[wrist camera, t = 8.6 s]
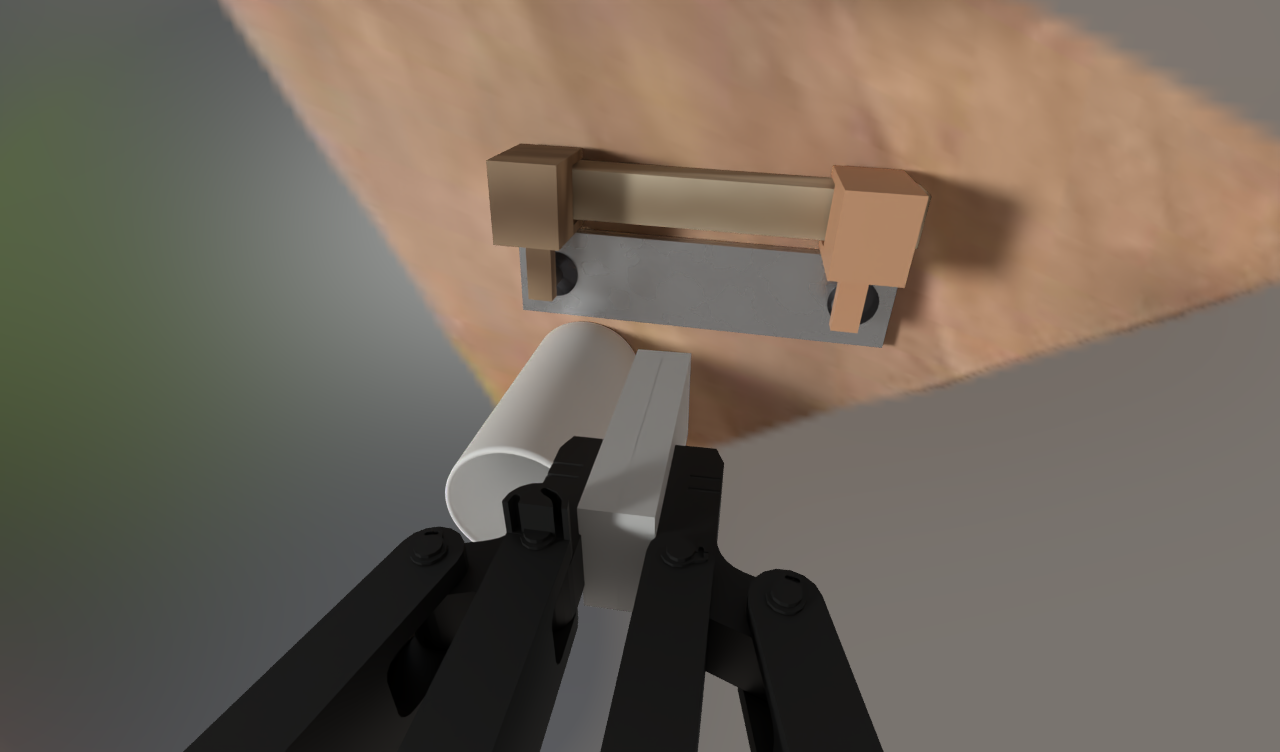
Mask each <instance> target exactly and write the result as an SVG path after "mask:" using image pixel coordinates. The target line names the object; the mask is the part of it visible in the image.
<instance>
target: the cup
mask: <svg viewBox="0 0 1280 752" xmlns="http://www.w3.org/2000/svg"><path fill="white" fill-rule="evenodd" d="M635 356H636V355H635V353H634V351H633V349H632V348H631V346H630V345H629V344H628V343H627V342H626V341H625V340H624V339H623V338H622V337H621V336H620V335H619V334H617V333H616V332H615V331H613V330H611V329H609V328H607V327H605V326H602V325H600V324H596V323H592V322H571V323H567V324H564V325H561V326H559V327H557V328H555V329H554V330H552V331H551V332H550V333H549V334H548V335H547V336H546V337H545V338H544V339H543V341H542V342H541V344H540V345H539V346H538V348H537V349H536V351H535V352H534V353H533V355H532V356H531V358H530V359H529V361H528V362H527V363H526V365H525V366H524V368H523V369H522V371H521V372H520V373H519V375H518V376H517V378H516V379H515V380H514V382H513V383H512V385H511V386H510V388H509V389H508V390H507V392H506V393H505V395H504V396H503V397H502V399H501V400H500V402H499V403H498V405H497V406H496V407H495V409H494V410H493V412H492V413H491V415H490V416H489V417H488V419H487V420H486V422H485V423H484V424H483V426H482V427H481V429H480V430H479V432H478V433H477V434H476V436H475V438H474V439H473V440H472V442H471V443H470V445H469V446H468V447H467V449H466V450H465V452H464V453H463V454H462V456H461V457H460V459H459V460H458V462H457V463H456V465H455V466H454V467H453V469H452V471H451V473H450V475H449V477H448V480H447V483H446V489H445V495H446V502H447V507H448V510H449V512H450V515H451V516H452V518H453V520H454V522H455V523H456V525H457V526H458V528H459V529H460V530H461V531H462V532H463V533H464V534H465V536H466V537H468V538H469V539H470V540H471V541H472V542H478V541H485V540H491V539H496V538H499V537H502V536H504V535H505V534H506V525H505V519H504V513H503V506H502V500H503V499H504V498H505V497H506V496H507V494H508V493H509V492H511V491H513V490H514V489H516V488H518V487H520V486H523V485H527V484H531V483H543V482H544V480H545V478H546V476H547V475H548V471H549V469H550V467H551V465H552V464H553V461H554V459H555V457H556V455H557V453H558V450H559V448H560V447H561V446H562V445H564V444H565V443H566V442H567V441H568V440H570V439H571V438H572V437H573V436H580V437H590V438H599V439H604V437H605V434H606V431H607V429H608V426H609V424H610V421H611V418H612V416H613V413H614V411H615V408H616V405H617V403H618V400H619V398H620V395H621V392H622V390H623V387H624V385H625V382H626V379H627V377H628V374H629V371H630V369H631V366H632V364H633V361H634V358H635Z"/></svg>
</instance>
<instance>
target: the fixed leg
mask: <svg viewBox="0 0 1280 752" xmlns="http://www.w3.org/2000/svg"><path fill="white" fill-rule="evenodd" d="M580 159H582V148H576V147H562V146H547V145H533V144H519V145H517V146H515V147H513V148H511V149H509V150H507V151H504V152H502V153H500V154H498V155H496V156H494V157H492V158H490V159H488V160H486V164H487V176H488V187H489V199H490V210H491V222H492V233H493V245H501V246H512V247H523V248H526V264H527V281H528V297H529V299H532V300H542V301H551V302H552V301H553V300H554V299H555V297H556V296H557V289H556V286H557V285H558V284H559V282H560V281H561V280H562V278H563V273H562V271H561V270H560V269H559V268H558V267H556V260H555V251H559V250H560V249H561V248H562V247H563V246H564V245H565V244H566V242H567V241H568V240H569V239H570V238H571V237H572V236H573V235H574V234H575V233H576V232H577V230H578V229H579V228H580V227H581V226H582V225H583V220H577V219H573V186H572V165H573V164H575V163H576V162H578V161H579V160H580Z"/></svg>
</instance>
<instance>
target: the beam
mask: <svg viewBox="0 0 1280 752" xmlns="http://www.w3.org/2000/svg"><path fill="white" fill-rule="evenodd" d="M572 186H573V219H577V220H589V221H600V222H612V223H624V224H636V225H647V226H659V227H671V228H683V229H694V230H706V231H718V232H730V233H741V234H753V235H765V236H777V237H788V238H800V239H812V240H824V241H825V235H826V230H827V225H828V220H829V214H830V209H831V204H832V198H833V193H834V188H835V183H834V181H833V179H832V178H827V177H813V176H799V175H785V174H771V173H757V172H743V171H729V170H715V169H701V168H687V167H673V166H659V165H645V164H631V163H618V162H604V161H590V160H579V161H578V162H576V163H575V164H573V165H572ZM918 186H919V187H920V188H921V189H922V190H923V191H924V192H925V193H926V194H927V195H928V196H929V198H928V202H927V206H926V209H925V213H924V217H923V221H922V224H921V228H920V232H919V236H918V239H917V243H916V247H915V248H918V244H919V241H920V237H921V233H922V230H923V226H924V222H925V218H926V215H927V211H928V207H929V203H930V200H931V195H930V194H929V193H928V192H927V191H926V190H925V189H924V188H923V187H922V186H921V185H920V184H918Z"/></svg>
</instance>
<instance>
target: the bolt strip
mask: <svg viewBox="0 0 1280 752" xmlns="http://www.w3.org/2000/svg"><path fill="white" fill-rule="evenodd" d="M519 251H520V266H521V282H522V297H523V310H531V311H541V312H550V313H560V314H569V315H578V316H588V317H597V318H606V319H616V320H625V321H635V322H644V323H653V324H663V325H672V326H682V327H691V328H700V329H710V330H719V331H729V332H738V333H747V334H757V335H766V336H776V337H785V338H794V339H804V340H813V341H823V342H832V343H841V344H851V345H860V346H869V347H879V348H882V346H883V342H884V338H885V334H886V330H887V326H888V323H889V319H890V315H891V311H892V307H893V303H894V300H895V296H896V292H897V288H898V287H889V286H878V285H869V286H868V291H867V295H866V299H865V303H864V308H863V312H862V316H861V321H860V325H859V329H858V333H849V332H840V331H830V326H829V321H830V317H831V312H832V307H831V303H832V301H833V299H834V297H835V292H836V288H837V283H838V282H835V281H827V278H826V273H825V269H824V265H823V261H822V257H821V253H820V250H819V249H807V248H796V247H784V246H773V245H761V244H750V243H739V242H727V241H716V240H704V239H693V238H681V237H670V236H658V235H647V234H635V233H624V232H612V231H601V230H589V229H578V230H577V232H576V233H575V234H574V235H573V236H572V237H571V238H570V239H569V240H568V241H567V242H566V244H565V245H564V246H563V247H562V248H561V249H560V250H559V251H555V260H556V267H558V268H559V269H560V270H561V271H562V273H563V278H562V280H561V281H560V282H559V284H558V285H557V286H556V289H557V296H556V297H555V299H554V300H553V301H552V302H551V301H542V300H532V299H529V297H528V281H527V264H526V248H523V247H519Z"/></svg>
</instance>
